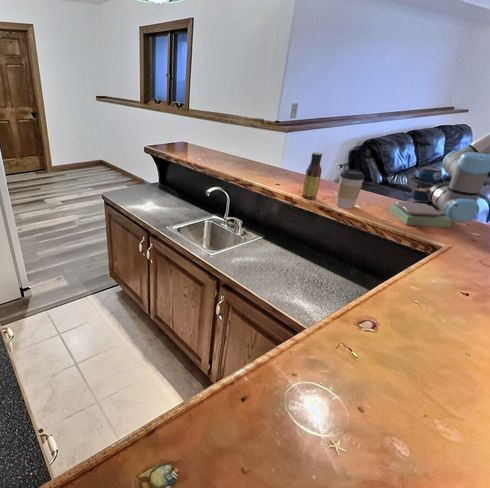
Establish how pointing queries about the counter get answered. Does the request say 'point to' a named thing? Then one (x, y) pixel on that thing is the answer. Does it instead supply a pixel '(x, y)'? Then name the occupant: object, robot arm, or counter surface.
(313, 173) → the sauce bottle
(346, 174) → the coffee cup
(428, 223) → the scale
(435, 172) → the soda can
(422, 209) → the scale pan
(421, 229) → the counter surface
